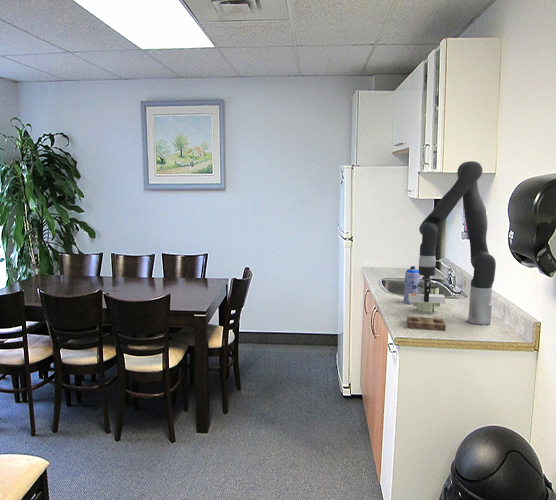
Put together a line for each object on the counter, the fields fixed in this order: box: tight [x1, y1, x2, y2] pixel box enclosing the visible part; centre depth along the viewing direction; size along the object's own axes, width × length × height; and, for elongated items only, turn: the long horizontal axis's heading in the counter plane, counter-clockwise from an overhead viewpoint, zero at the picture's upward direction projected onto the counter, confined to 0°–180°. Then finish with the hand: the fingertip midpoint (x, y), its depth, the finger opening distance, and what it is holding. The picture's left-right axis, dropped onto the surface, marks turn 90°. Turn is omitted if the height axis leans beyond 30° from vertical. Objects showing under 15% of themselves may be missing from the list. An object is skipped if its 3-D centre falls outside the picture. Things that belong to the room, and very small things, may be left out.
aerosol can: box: [403, 265, 421, 306], centre depth 259 cm, size 8×8×20 cm
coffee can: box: [416, 281, 440, 315], centre depth 243 cm, size 10×10×14 cm
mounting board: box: [406, 315, 447, 332], centre depth 220 cm, size 16×10×2 cm, turn 78°
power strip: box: [409, 293, 446, 307], centre depth 227 cm, size 16×4×6 cm, turn 78°
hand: (425, 300), depth 227 cm, fingers closed on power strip, 4 cm apart
